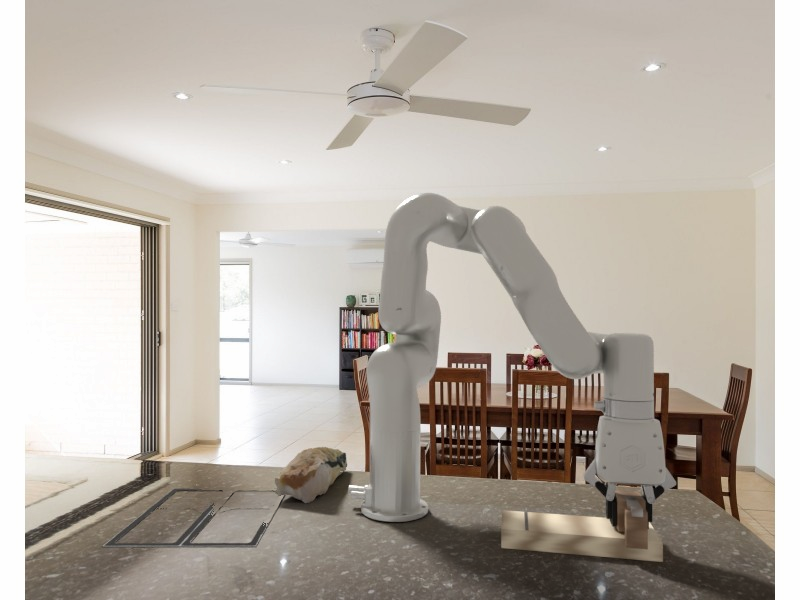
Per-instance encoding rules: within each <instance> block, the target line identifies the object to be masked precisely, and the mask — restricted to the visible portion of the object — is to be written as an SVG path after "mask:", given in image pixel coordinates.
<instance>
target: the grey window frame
mask: <svg viewBox="0 0 800 600" xmlns="http://www.w3.org/2000/svg"><path fill="white" fill-rule="evenodd" d="M199 488H200V487H199ZM199 488H190V487H189V488H187V487H186V488H182V487H181V488H178V487H177V488H172V489H171V490H170V491H169V492H167V493H166V494H165V495H164V496H162V497H161V498H160V499H158V501H156V502H155V503H154V504H153V505H151V506H150V507H149V508H147V510H145V511H144V512H143V513H141V514H140V515H139V516H137V517H136V518H135V519H134V520H133V521H132V522H130V523H129V524H128V525H126V526H125V527H124V528H123V529H122V530H120V531H119V532H118V533H117V534H115V535H114V536H113V537H112V538H110V539H109V540H108V541H107V542H106V543H104V544H103V545H102V548H257V546H258V544H259V543H258V542H260V541H261V539H262V538H263V536H264V534H265V532H266V530H267V529H266V527H267V526H268V527H269V525H267V526H266V523H264V522H263V521H262V522H263V523H264V524H265V525H264V524H263V523H262V522H261V524H262V525H261V524H260V526H259V527H258V529H257V531H256V532H255V534H254V536H253V538H252V539H251V541H250V542H193V541H194V540H195V539H196V537H197V536H199V534H200V533H201V532H202V531H203V529H205V527H206V526H207V525H208V524H209V522H210V521H211V520H212V519H213V518H214V517H213V516H212V515H211V513H212V511H213V510H214V509H213V507H212V506H213V505H214V503H213V504H212V502H214V500H213V501H212V502H211V503H210V504H212V505H210V506H209V507H206V508H205V510H203V511H204V512H203V513H202V514H201V513H200V515H199V516H198V517H197V519H195V521H194V522H193V523H191V525H190V526H189V527H188V528H187V529H186V530H185V531H184V532H183V533H182V534H181V536H180V537H178V539H177V540H176V541H175V542H118V541H119V540H121V538H123V537H124V536H125V535H127V534H128V533H129V532H130V531H131V530H133V529H134V528H135V527H136V526H137V525H139V524H140V523H141V522H142V521H143V520H145V519H146V518H147V517H148V516H149V515H151V514H152V513H153V512H154V511H156V510H168V509H167V508H168V507H160V506H161V505H163V504H164V503H165V502H166V501H168V500H169V499H170V498H171V497H172V496H173V495H174V494H176V493H177V492H198V491H197V490H202V489H199ZM189 490H190V491H189ZM192 490H193V491H192ZM195 490H196V491H195ZM176 491H177V492H176ZM175 492H176V493H175ZM170 496H171V497H170ZM169 497H170V498H169ZM163 502H164V503H163ZM214 506H215V505H214ZM157 507H158V508H157ZM156 508H157V509H156ZM159 508H160V509H159ZM162 508H163V509H162ZM164 508H166V509H164ZM155 509H156V510H155ZM212 509H213V510H212ZM151 512H152V513H151ZM213 512H214V511H213ZM209 514H210V515H209ZM212 514H213V513H212ZM145 517H146V518H145ZM212 517H213V518H212ZM211 518H212V519H211ZM210 519H211V520H210ZM209 520H210V521H209ZM207 523H208V524H207ZM206 524H207V525H206ZM267 524H268V523H267ZM205 525H206V526H205ZM263 525H264V526H263ZM268 527H267V528H268ZM200 531H201V532H200ZM264 531H265V532H264ZM199 532H200V533H199ZM263 533H264V534H263ZM262 535H263V536H262Z"/></svg>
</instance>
